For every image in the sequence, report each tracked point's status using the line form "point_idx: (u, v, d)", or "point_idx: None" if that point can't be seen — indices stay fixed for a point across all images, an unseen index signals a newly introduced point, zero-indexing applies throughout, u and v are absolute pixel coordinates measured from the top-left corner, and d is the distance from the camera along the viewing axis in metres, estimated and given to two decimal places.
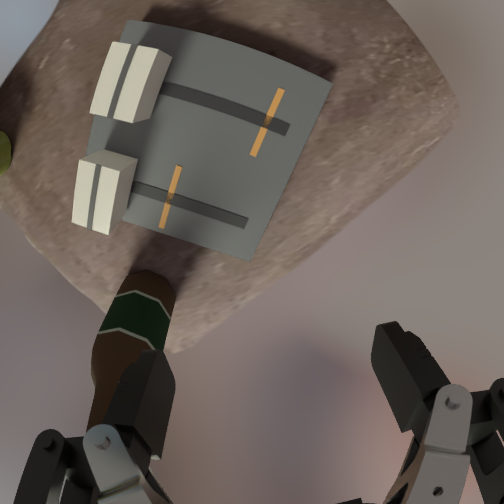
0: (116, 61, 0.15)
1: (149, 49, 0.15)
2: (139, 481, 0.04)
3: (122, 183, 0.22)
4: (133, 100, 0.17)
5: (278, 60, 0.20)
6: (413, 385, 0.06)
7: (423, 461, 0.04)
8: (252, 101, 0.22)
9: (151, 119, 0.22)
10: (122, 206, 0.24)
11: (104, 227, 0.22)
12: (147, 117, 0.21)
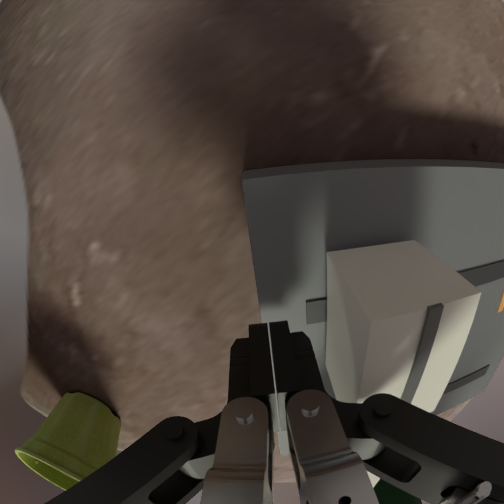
0: (395, 357, 0.07)
1: (465, 301, 0.06)
2: (264, 472, 0.04)
3: None
4: (436, 390, 0.08)
5: None
6: (276, 384, 0.08)
7: (307, 482, 0.04)
8: (499, 250, 0.11)
9: None
10: None
11: None
12: None
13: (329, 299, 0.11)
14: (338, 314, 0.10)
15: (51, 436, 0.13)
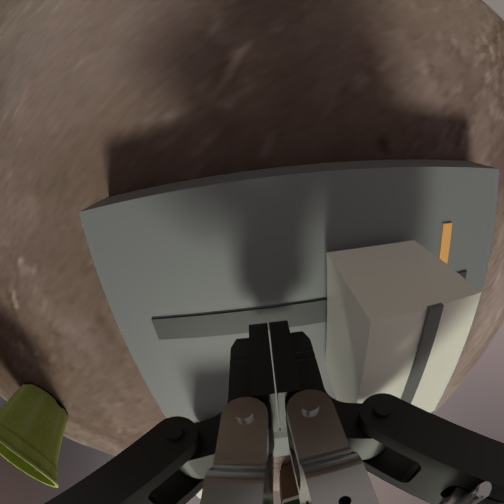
0: (395, 357, 0.07)
1: (465, 301, 0.06)
2: (264, 472, 0.04)
3: None
4: (436, 390, 0.08)
5: (427, 170, 0.10)
6: (276, 384, 0.08)
7: (307, 482, 0.04)
8: None
9: None
10: None
11: None
12: None
13: (329, 299, 0.11)
14: (338, 314, 0.10)
15: (3, 418, 0.13)
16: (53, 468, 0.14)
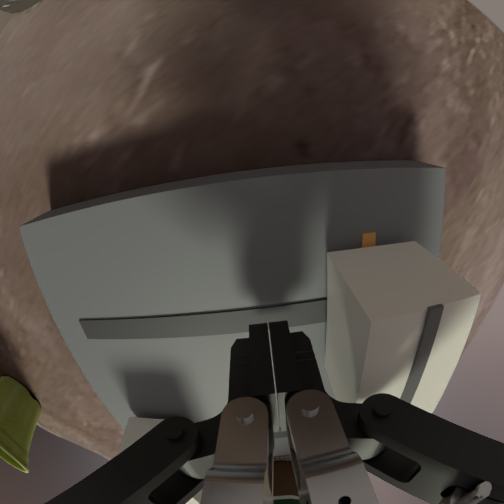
0: (395, 358, 0.07)
1: (465, 302, 0.06)
2: (264, 472, 0.04)
3: None
4: (436, 391, 0.08)
5: (336, 175, 0.10)
6: (276, 384, 0.08)
7: (307, 482, 0.04)
8: (324, 284, 0.12)
9: (168, 372, 0.14)
10: None
11: None
12: None
13: (329, 299, 0.11)
14: (338, 314, 0.10)
15: None
16: (23, 454, 0.14)
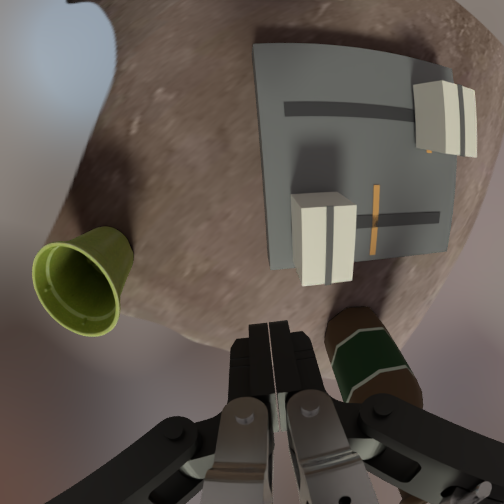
0: (452, 101, 0.15)
1: (469, 90, 0.15)
2: (264, 473, 0.04)
3: None
4: (473, 137, 0.16)
5: (412, 59, 0.18)
6: (276, 384, 0.08)
7: (308, 482, 0.04)
8: (411, 102, 0.20)
9: (334, 145, 0.22)
10: None
11: (346, 274, 0.21)
12: None
13: (416, 104, 0.19)
14: (424, 101, 0.18)
15: (77, 239, 0.21)
16: (119, 295, 0.22)
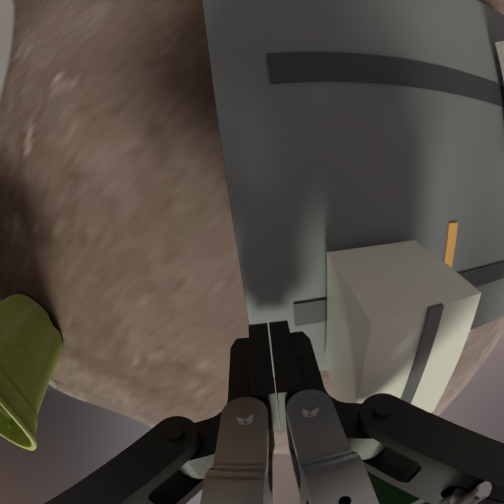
0: None
1: None
2: (264, 472, 0.04)
3: None
4: None
5: (482, 4, 0.06)
6: (276, 384, 0.08)
7: (308, 482, 0.04)
8: (495, 72, 0.08)
9: (382, 144, 0.09)
10: None
11: (428, 406, 0.08)
12: None
13: None
14: None
15: None
16: (30, 412, 0.10)
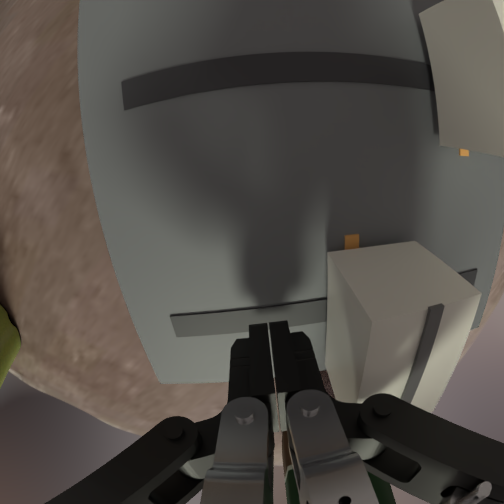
0: None
1: None
2: (264, 472, 0.04)
3: None
4: None
5: None
6: (276, 384, 0.08)
7: (308, 482, 0.04)
8: (421, 49, 0.08)
9: (241, 153, 0.10)
10: None
11: (428, 407, 0.08)
12: None
13: (433, 49, 0.07)
14: (451, 39, 0.06)
15: None
16: None
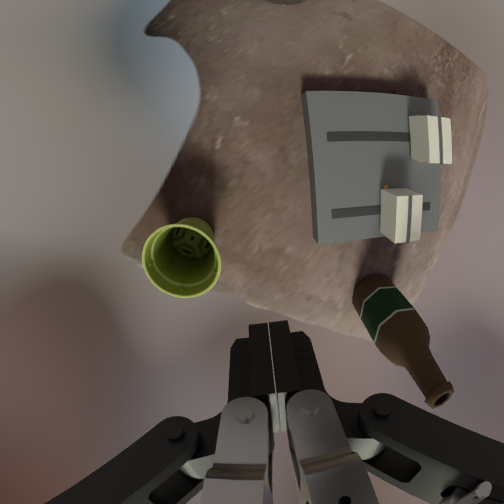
0: (434, 128, 0.27)
1: (446, 119, 0.26)
2: (264, 472, 0.04)
3: None
4: (449, 150, 0.28)
5: (408, 97, 0.29)
6: (276, 384, 0.08)
7: (308, 482, 0.04)
8: (407, 128, 0.31)
9: (358, 159, 0.33)
10: None
11: (417, 236, 0.32)
12: None
13: (411, 129, 0.30)
14: (416, 128, 0.29)
15: (182, 224, 0.33)
16: (217, 263, 0.34)
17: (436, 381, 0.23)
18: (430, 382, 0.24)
